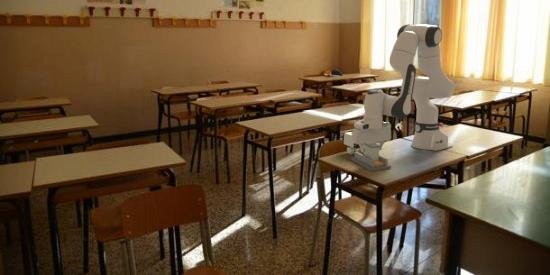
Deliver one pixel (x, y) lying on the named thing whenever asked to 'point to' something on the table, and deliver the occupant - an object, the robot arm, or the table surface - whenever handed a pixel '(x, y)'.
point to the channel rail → (370, 162)
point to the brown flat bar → (378, 163)
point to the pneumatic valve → (349, 142)
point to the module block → (371, 151)
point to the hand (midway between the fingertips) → (371, 150)
